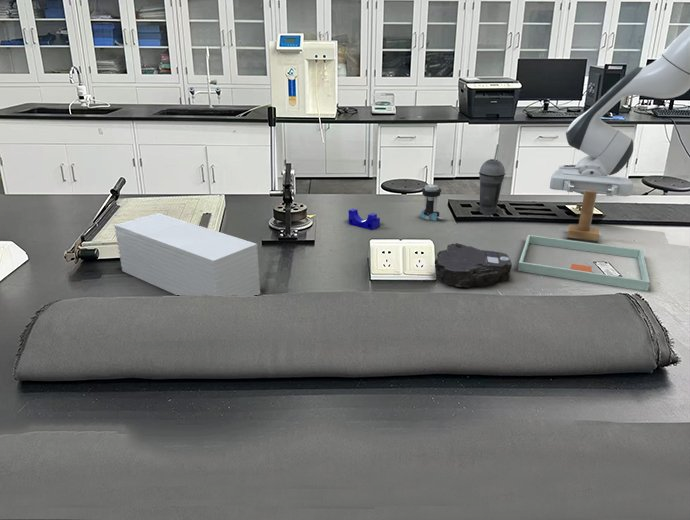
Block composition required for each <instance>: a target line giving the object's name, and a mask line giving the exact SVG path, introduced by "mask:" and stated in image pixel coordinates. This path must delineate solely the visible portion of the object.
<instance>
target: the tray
mask: <svg viewBox="0 0 690 520" xmlns="http://www.w3.org/2000/svg"><path fill="white" fill-rule="evenodd" d="M524 242H525V243H524V245H523V249H522V251H521V254H520V258H519V261H518V265H517V272H524V273H530V274H536V275H543V276H550V277H555V278H561V279H569V280H575V281H582V282H587V283H592V284H600V285H606V286H612V287H613V286H614V287H619V288H626V289H631V290H632V289H633V290H637V291H638V290H639V291H646V292H648V291H649V288H650V284H651V281H650V280H651V279H650V276H649V271H648V268H647V264H646V260H645V259H646V258H645V254H644V252H643V251H644V250H643V249H639V248H632V247H624V246H616V245H609V244H602V243H601V244H600V243H592V242H584V241H576V240H569V239H563V238H557V237H556V238H555V237H548V236H541V235H534V234H533V235H532V234H528V235H527V237H526V239H525V241H524ZM531 244H533V245H540V246H547V247H554V248H561V249H567V250H568V249H570V250H575V251H582V252H590V253H597V254H606V255H612V256H620V257H626V258H635V259H637V260H638V267H639V269H640V275H641V279H639V278H632V277H624V276H618V275H613V274H612V275H611V274H605V273H599V272H598V273H597V272H585V271H579V270H572V269H571V268H566V267H558V266H551V265H546V264H545V265H544V264H539V263H532V262H525V259H526V254H527V251H528V248H529V245H531Z"/></svg>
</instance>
